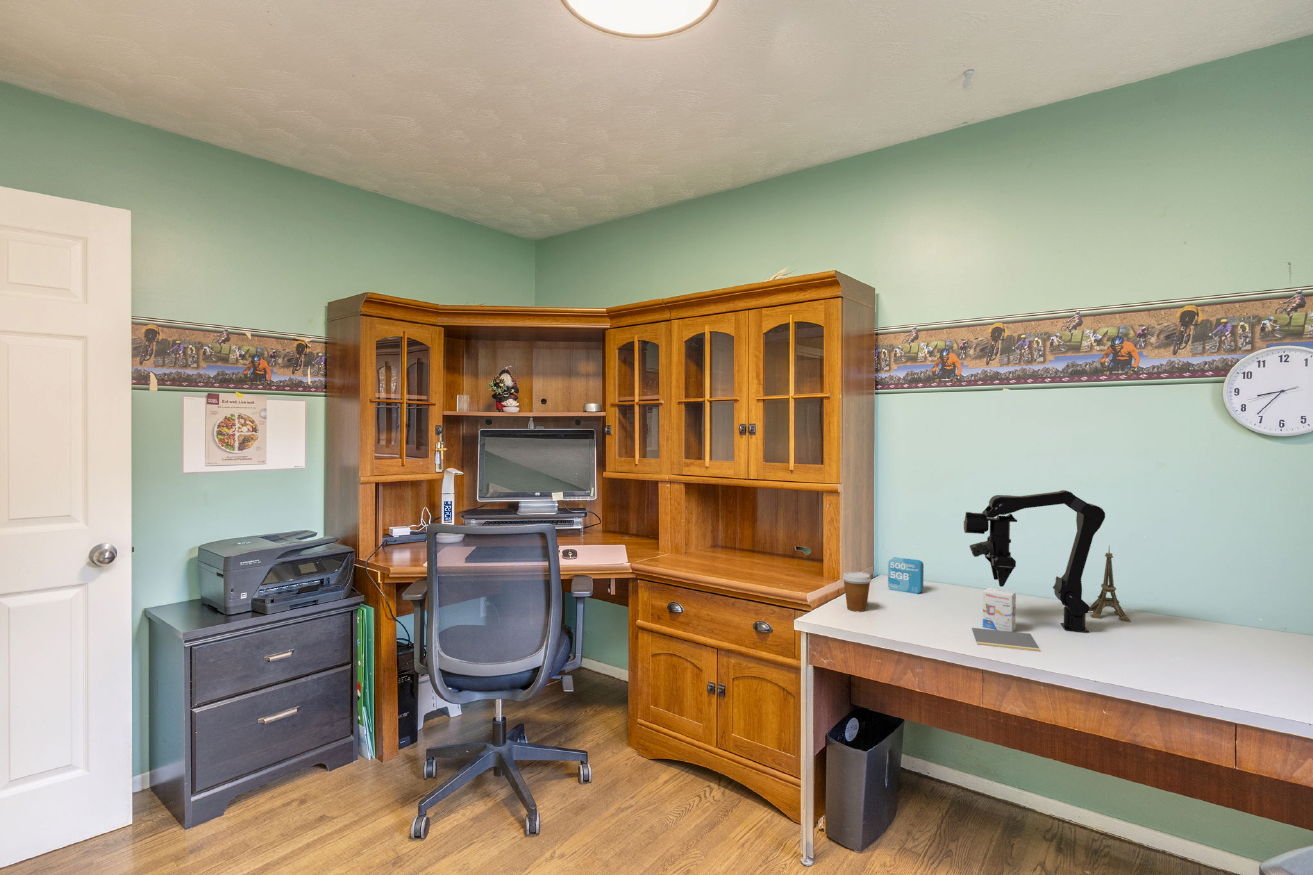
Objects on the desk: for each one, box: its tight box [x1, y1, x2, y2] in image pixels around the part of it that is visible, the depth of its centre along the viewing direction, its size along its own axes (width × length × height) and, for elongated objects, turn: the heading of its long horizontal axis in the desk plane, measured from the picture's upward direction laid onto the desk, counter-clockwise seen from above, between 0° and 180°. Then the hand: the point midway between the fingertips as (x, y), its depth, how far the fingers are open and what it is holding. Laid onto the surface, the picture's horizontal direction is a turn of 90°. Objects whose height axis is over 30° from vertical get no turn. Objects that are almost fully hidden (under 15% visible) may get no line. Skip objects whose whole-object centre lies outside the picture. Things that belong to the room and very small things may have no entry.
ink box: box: [982, 587, 1017, 632], centre depth 201 cm, size 9×5×12 cm, turn 48°
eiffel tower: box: [1089, 546, 1132, 623], centre depth 214 cm, size 11×11×25 cm
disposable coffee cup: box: [842, 571, 872, 613], centre depth 222 cm, size 10×10×12 cm
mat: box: [971, 627, 1041, 652], centre depth 191 cm, size 15×16×1 cm
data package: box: [887, 556, 925, 595], centre depth 246 cm, size 12×4×12 cm, turn 54°
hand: (998, 582), depth 207 cm, fingers open, 9 cm apart
